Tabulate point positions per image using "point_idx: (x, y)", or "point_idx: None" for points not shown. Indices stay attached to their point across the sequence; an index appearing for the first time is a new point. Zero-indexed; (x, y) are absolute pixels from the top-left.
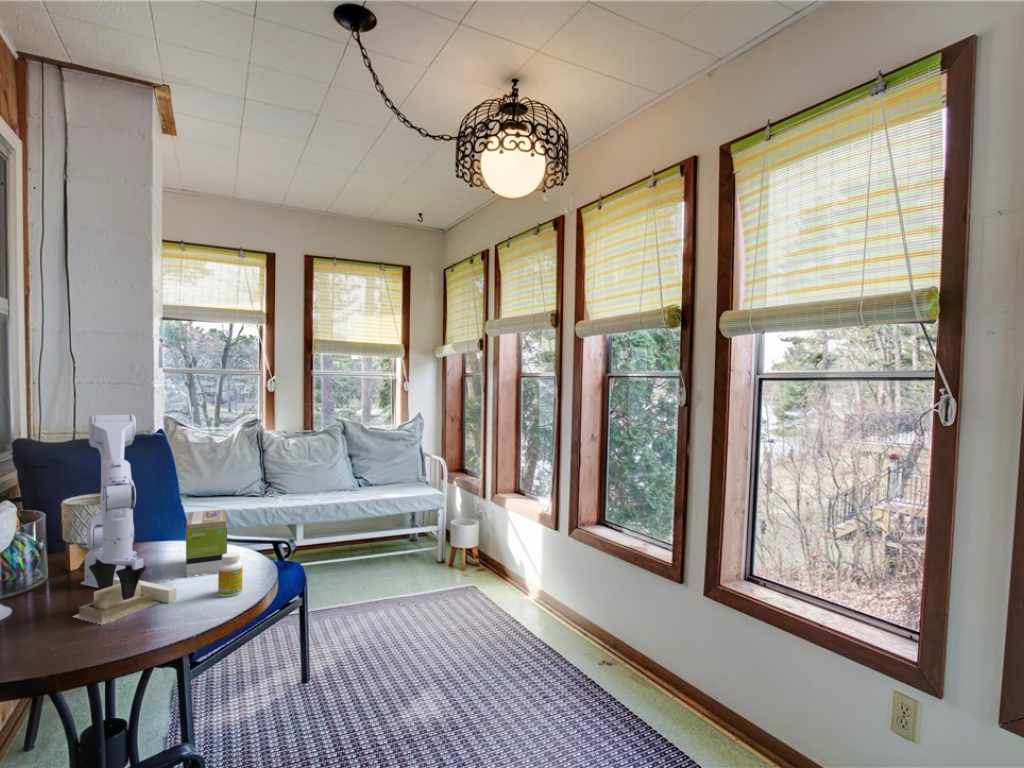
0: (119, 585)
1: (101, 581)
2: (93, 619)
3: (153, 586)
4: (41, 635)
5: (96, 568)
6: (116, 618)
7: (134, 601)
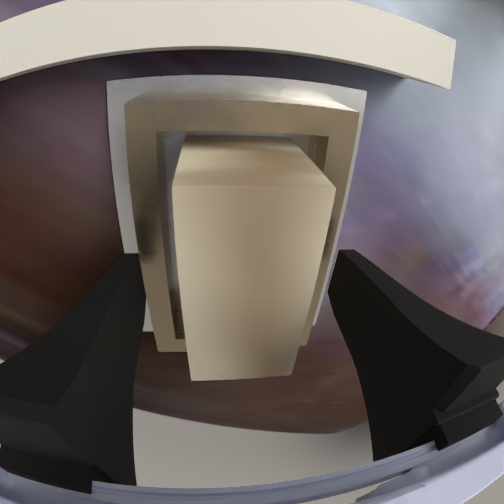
0: (221, 287)
1: (131, 367)
2: None
3: (294, 35)
4: (207, 394)
5: (134, 478)
6: (325, 285)
7: (337, 222)
